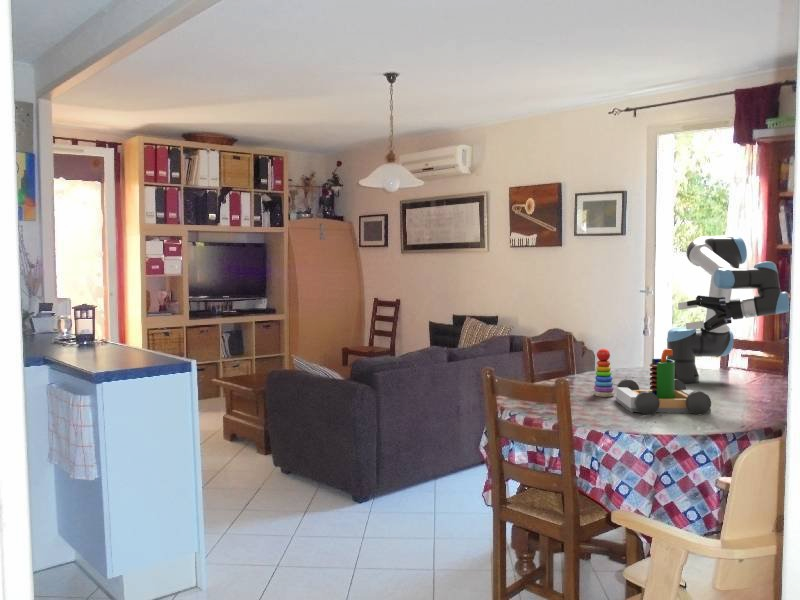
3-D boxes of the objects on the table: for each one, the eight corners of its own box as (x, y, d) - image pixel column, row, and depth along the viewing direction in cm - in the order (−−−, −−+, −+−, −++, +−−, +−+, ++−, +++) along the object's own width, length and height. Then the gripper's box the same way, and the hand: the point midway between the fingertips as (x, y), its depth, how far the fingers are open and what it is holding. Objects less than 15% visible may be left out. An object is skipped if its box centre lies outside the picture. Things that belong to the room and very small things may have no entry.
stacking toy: (614, 394, 288) (615, 347, 286) (613, 398, 280) (614, 350, 279) (594, 392, 290) (594, 347, 289) (592, 396, 283) (593, 349, 281)
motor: (643, 399, 269) (644, 347, 268) (666, 399, 270) (667, 346, 269) (655, 405, 259) (656, 351, 258) (679, 405, 260) (680, 350, 259)
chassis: (613, 399, 278) (614, 378, 277) (686, 399, 277) (687, 378, 276) (633, 414, 252) (634, 392, 252) (713, 414, 252) (714, 392, 251)
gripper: (737, 296, 254) (675, 305, 264) (748, 335, 271) (689, 342, 281) (735, 280, 259) (674, 289, 269) (746, 319, 275) (688, 326, 285)
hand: (682, 316), depth 275 cm, fingers open, 13 cm apart
